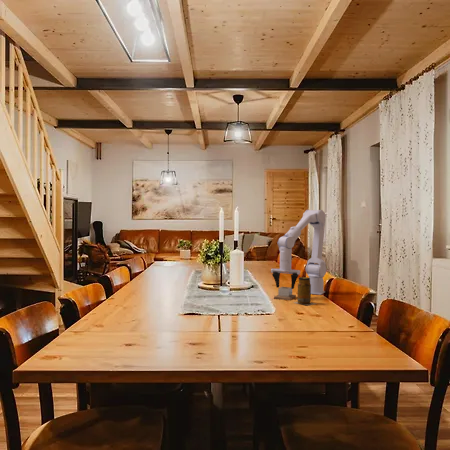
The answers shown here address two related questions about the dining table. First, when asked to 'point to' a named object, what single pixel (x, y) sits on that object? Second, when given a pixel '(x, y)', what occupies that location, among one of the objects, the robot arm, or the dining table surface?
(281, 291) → the block with square hole
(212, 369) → the dining table surface
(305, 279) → the condiment
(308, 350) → the dining table surface
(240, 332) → the dining table surface
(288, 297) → the block
